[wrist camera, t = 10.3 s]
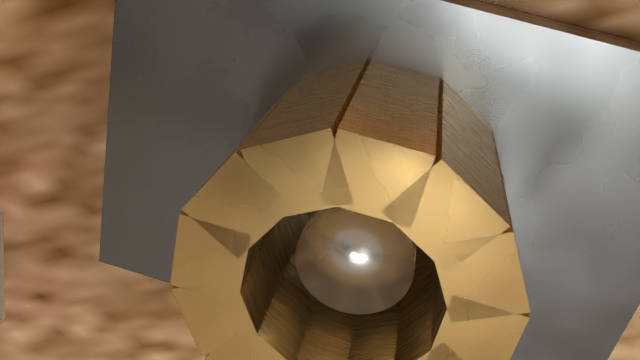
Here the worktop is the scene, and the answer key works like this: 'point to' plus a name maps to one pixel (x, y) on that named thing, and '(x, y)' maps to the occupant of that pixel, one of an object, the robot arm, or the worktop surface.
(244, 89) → the shaft stand
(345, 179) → the ring
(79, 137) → the worktop surface
